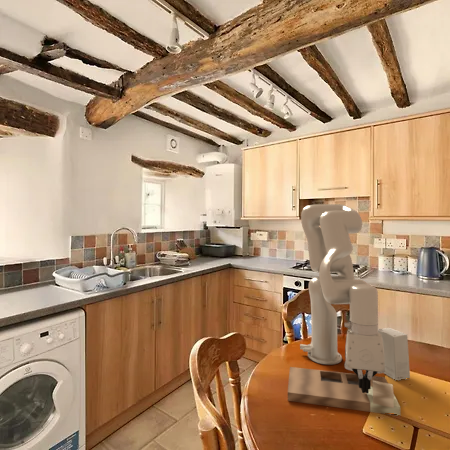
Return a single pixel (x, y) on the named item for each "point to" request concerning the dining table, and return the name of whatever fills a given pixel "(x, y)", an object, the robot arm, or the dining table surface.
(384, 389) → the maple block
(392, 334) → the skincare box
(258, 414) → the dining table surface
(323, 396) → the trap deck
